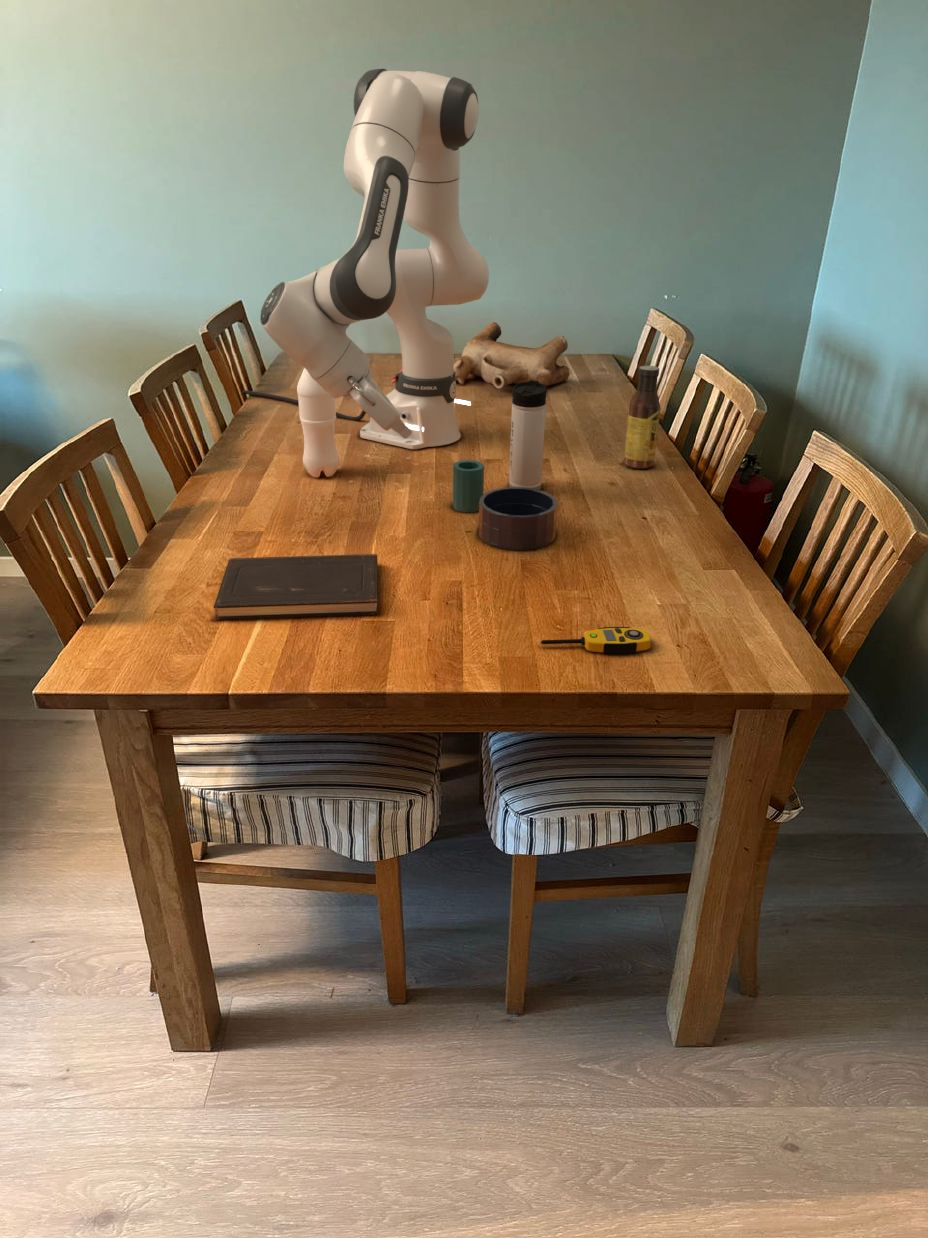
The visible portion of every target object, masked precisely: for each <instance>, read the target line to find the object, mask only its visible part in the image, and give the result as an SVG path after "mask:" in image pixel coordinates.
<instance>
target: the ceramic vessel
mask: <svg viewBox="0 0 928 1238" xmlns="http://www.w3.org/2000/svg"><path fill="white" fill-rule="evenodd" d="M501 335H502V329H501V326H500V325H499V324H498V323H497V322H495V321H494V322H490V323H488V325H487V326H486V327H484V328H483V329H482V330H481V331H480V332H479V333H478V334H476V335H475V336H473V337H472V338H471V339H470V340H469V341H468V342H467V343H466V344H465V346H464V348H463V350H462V353H461V355H460V356H454V372H455V375H456V382H458V383H459V384H460V386H464V385H465V381H466V378H467V377H468V376H469V375H472V376H475V377H478V378H482V379H483V381H484V382H485V383H488V384H491V385H493V387H494V388H495V389H497V390H502V389H503V388H505V387H506V386H508V385H511V384H515V385H516V384H519V383H522V382H529V381H530V380H535V381H539V383H541V384H543V385H545V386H546V387H548V386H551V385H557V384H560V383H561V382H564V381H566V380H568V379H569V377H570V369H569V367H568V366H567V365H565V364H564V365H559V364H558V363H557V362H558V359H559V357H560V356H562V354H564V353H565V352H566V351H567V350H568V346H569V345H568V340H567V339H566V338H565V336H563V335H557V336H555V337H554V338H552V339H551V340H549V341H548V342H546V343H545V344H543V345H542V346H540V347H528V346H520V345H519V346H518V345H514V344H509V343H505V342H501V341H498V339H499V338H500V337H501Z"/></svg>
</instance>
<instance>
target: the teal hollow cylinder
mask: <svg viewBox="0 0 928 1238" xmlns="http://www.w3.org/2000/svg"><path fill="white" fill-rule="evenodd" d="M484 484H485V465H484V463H482V462H480V461H478V460H473V459H464V460H459V461H456V462H454V463H453V464H452V507H453V509H454V510H455V511H457V512H461V513H477V512H479V499H480V497H481V496H482V495H483V494H484V493H485V492H484V489H485V488H484V486H485V485H484Z"/></svg>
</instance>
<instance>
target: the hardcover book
mask: <svg viewBox="0 0 928 1238" xmlns="http://www.w3.org/2000/svg"><path fill="white" fill-rule="evenodd" d="M378 565H379V564H378V554H377V553H365V554H361V553H359V554H330V555H329V554H327V555H326V554H325V555H296V556H293V555H291V556H261V557H260V556H258V557H257V556H256V557H229V559H228V562H227V564H226V568H225V571H224V574H223V577H222V579H221V583H220V585H219V589H218V592H217V595H216V597H215V600H214V601H215V602H214V603H213V609H216V611H217V612H216V615H215V620H216V621H227V620H228V621H229V620H230V621H231V620H255V619H256V620H257V619H258V620H259V619H284V618H285V619H287V618H288V619H289V618H311V617H312V618H313V617H317V618H319V617H342V616H343V617H344V616H371V615H373V616H374V615H379V570H378V569H379V568H378V567H379V566H378Z"/></svg>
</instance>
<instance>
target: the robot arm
mask: <svg viewBox="0 0 928 1238" xmlns="http://www.w3.org/2000/svg"><path fill="white" fill-rule="evenodd" d="M353 113H354V119H353V122H352V126H351V128H350V131H349V135H348V137H347V142H346V145H345V151H344V156H343V157H344V158H343V174H344V176H345V178H346V180H347V182H348V183H349V185H350V186H351V188H352V189H353V190H354V191H355V192H356V193H357V194H359V195H360V196H362V197H363V198H364V202H363V206H362V211H361V214H360V219H359V224H358V228H357V232H356V237H355V239H354V242H353V244H352V245H351V246H350V248H349V249H348V250H347V251H346V252H345V253H344V254H343V255H342V256H341V257H339V258H337V259H336V260H334V261H332V262H330V263H327V264H325V265H323V266H321V267H319V268H317V269H316V270H315V271H312V272H311V273H309V274H306V275H305V276H302V277H300V278H297V279H294V280H290V281H281V282H280V283H278V284H277V285H276V286H274V288H273V289H272V290H271V291H270V293H268V296H267V297H266V299H264V302H263V305H262V307H261V310H260V319H259V320H260V324H261V326H262V328H263V330H265V332H266V334H267V335H268V336H269V337H270V338H271V339H272V341H273V342H274V343H275V344H276V345H277V346H278V347H279V348H280V349H281V350H282V351H283V352H284V353H285V354H286V355H287V356H288V357H289V358H290V359H291V360H292V361H294V362H295V363H297V364H299V365H301V366H302V367H303V369H304V368H305V369H306V370H307V371H308V373H309V374H310V376H311V377H312V378H313V379H314V380H315V381H316V382H317V383H318V384H319V385H320V386H321V387H322V388H323V389H324V390H326V391H327V392H328V393H329V394H330V395H331V396H332V397H333V398H335V399H339V398H341V397H343V398H344V399H345V400H351V399H353V400H354V402H355V403H356V404H357V405H358V406H359V407H360V408H361V409H362V411H361V413H360V414H359V415H358V416H349V415H346V414H343V413H340V412H337V411H336V418H340V419H342V420H343V419H344V420H348V421H354V422H355V421H356V422H357V421H361V420H362V419H363V418H364V417H365V415H366V414H367V415H368V416H369V422H367V423H366V424H365V425H363V426H362V427H361V428H360V430H359V437H360V438H361V439H364V440H368V441H373V442H378V443H382V444H386V445H392V446H395V447H400V448H405V449H409V450H419V449H424V448H428V447H429V448H431V447H441V446H446V445H450V444H453V443H455V442H457V441H459V440H460V439H461V436H462V434H461V432H460V428H459V424H458V419H457V411H456V404H459V405H464V406H465V405H466V406H471V405H472V403H471V401H469V400H464V399H457V398H456V396H457V381H456V375H455V372H454V357H455V356H454V355H455V354H454V353H455V352H454V351H455V348H454V347H455V345H454V344H455V343H454V342H455V341H454V337H453V335H452V333H451V332H450V331H449V329H448V328H447V327H445V326H443V325H441V324H440V323H438V322H436V321H433V320H431V319H429V318H428V317H427V313H426V308H427V307H432V306H433V307H434V306H457V305H458V306H459V305H463V304H467V303H470V302H474V301H478V300H480V299H481V298H482V297H483V295H484V294H485V293H486V291H487V288H488V285H489V282H490V270H489V266H488V263H487V261H486V258H485V257H484V256H483V255H482V254H481V252H480V251H478V250H477V249H476V248H475V247H474V246H473V245H472V243H470V242H469V240H468V238H467V236H466V235H465V233H464V231H463V228H462V225H461V220H460V208H459V207H460V204H459V203H460V197H459V196H460V174H461V172H460V171H461V157H460V156H461V154H460V153H461V152H460V148H462V147H464V146H465V145H467V144H468V143H469V142H470V141H471V140H472V139H473V136H474V135H475V131H476V128H477V125H478V121H479V113H480V111H479V99H478V94H477V92H476V90H475V88H474V86H473V84H471V83H470V82H468V81H467V80H464V79H462V78H459V77H455V76H453V77H448V76H445V75H442V74H438V73H433V72H429V71H423V70H416V71H412V70H387V69H386V68H374V69H369V70H367V71H365V73H364V74H362V75H361V77H360V78H359V79H358V80H357V83H356V86H355V90H354V94H353ZM403 220H404V222H405V223H406V224H407V226H409V227H410V228H412V229H413V230H414V231H416V232H417V233H420V234H422V235H424V236H426V237H428V238H429V246H428V247H424V248H398V244H399V239H400V234H401V230H402V226H403ZM385 313H386V314H387V315H388V316H389V318H390V319H391V320H392V322H393V324H394V326H395V328H396V330H397V333H398V337H399V343H400V344H399V345H400V353H401V367H402V368H401V369H400V370H399V372H398V373H396V374H394V376H393V377H391V384H394V386H395V387H394V389H392V390H391V391H390V392H388V393H387V394H385V393H384V391H383V390H382V389H381V387H380V386H379V384H378V383H377V381H376V380H375V379H374V378H373V376H372V375H373V371H372V370H371V369H370V368H369V366H370V363H371V359H370V357H369V356H368V355H367V354H366V353H365V352H364V351H363V350H362V349H361V347H359V346H358V345H357V344H356V343H355V342H354V341H353V340H352V339H351V338H350V337H349V336H348V335H347V330H348V328H349V326H350V325H352V324H355V323H357V322H360V321H366V320H373V319H376V318H379V317H381V316H383V315H384V314H385ZM241 392H242V395H243V394H244V395H249V396H256V397H262V398H267V399H273V400H278V401H283V402H287V403H292V404H295V405H299V401H298V399H294V398H290V397H286V396H282V395H277V394H271V393H266V392H259V391H253V390H245V389H242V391H241Z"/></svg>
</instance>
